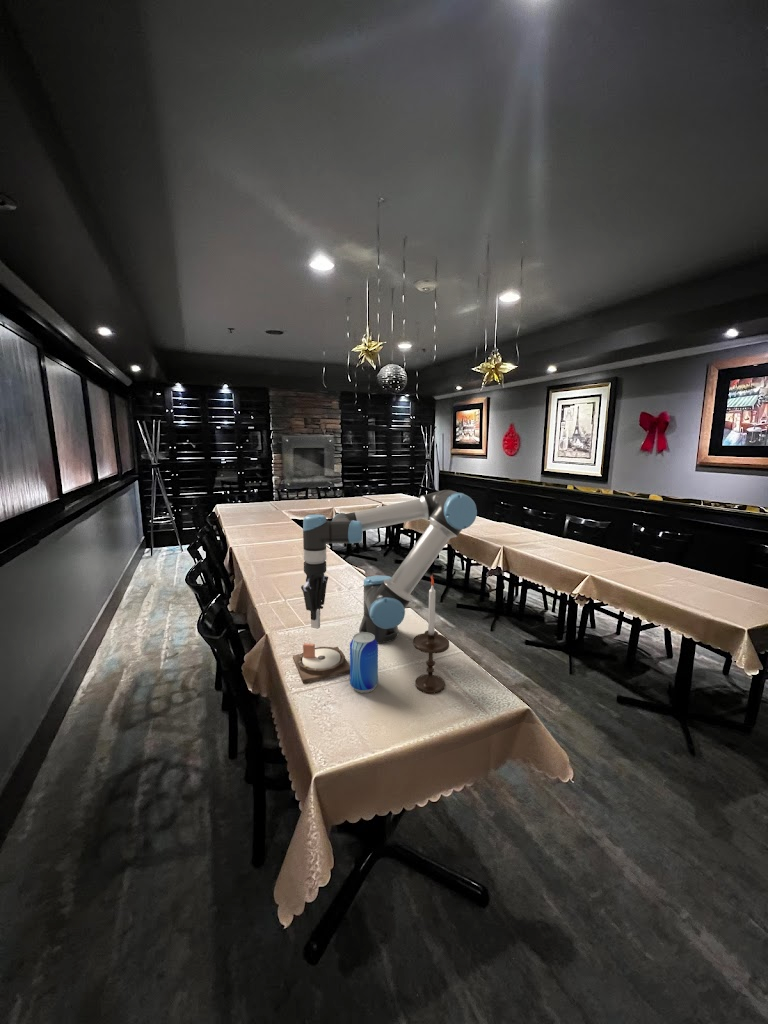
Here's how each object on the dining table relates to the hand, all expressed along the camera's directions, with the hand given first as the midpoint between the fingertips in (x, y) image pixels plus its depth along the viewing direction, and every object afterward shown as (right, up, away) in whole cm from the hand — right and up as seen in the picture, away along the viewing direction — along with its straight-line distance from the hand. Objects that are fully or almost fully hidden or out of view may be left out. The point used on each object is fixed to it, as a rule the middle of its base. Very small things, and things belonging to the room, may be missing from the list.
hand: (315, 627), depth 138 cm
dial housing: (+3, -12, -4) cm, 13 cm away
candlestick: (+38, -14, -15) cm, 43 cm away
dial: (+3, -10, -4) cm, 11 cm away
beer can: (+17, -14, -15) cm, 27 cm away
